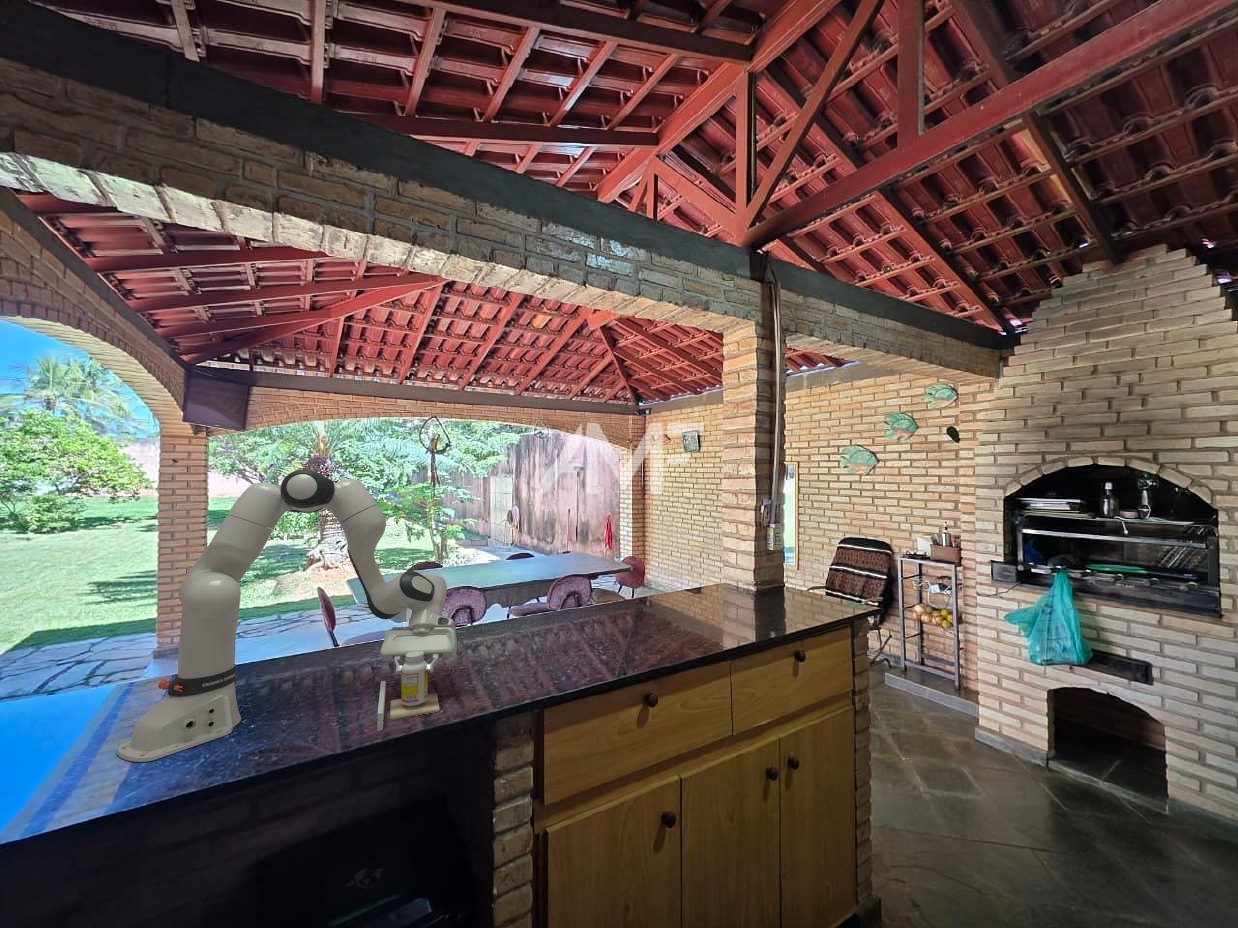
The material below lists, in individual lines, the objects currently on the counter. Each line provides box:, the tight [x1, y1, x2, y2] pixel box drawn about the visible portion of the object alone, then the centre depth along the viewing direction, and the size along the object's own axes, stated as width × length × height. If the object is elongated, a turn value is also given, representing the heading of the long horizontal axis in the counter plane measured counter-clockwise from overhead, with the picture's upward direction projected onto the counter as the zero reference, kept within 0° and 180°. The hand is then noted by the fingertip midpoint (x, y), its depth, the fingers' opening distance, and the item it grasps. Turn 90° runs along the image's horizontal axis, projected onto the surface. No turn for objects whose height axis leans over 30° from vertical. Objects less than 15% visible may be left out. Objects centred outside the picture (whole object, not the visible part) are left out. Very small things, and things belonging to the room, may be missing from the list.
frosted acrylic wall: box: [376, 680, 387, 732], centre depth 130 cm, size 22×1×4 cm, turn 24°
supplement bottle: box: [400, 651, 429, 706], centre depth 133 cm, size 7×7×13 cm
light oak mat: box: [389, 692, 441, 721], centre depth 133 cm, size 12×12×1 cm
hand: (414, 672), depth 133 cm, fingers closed on supplement bottle, 6 cm apart
